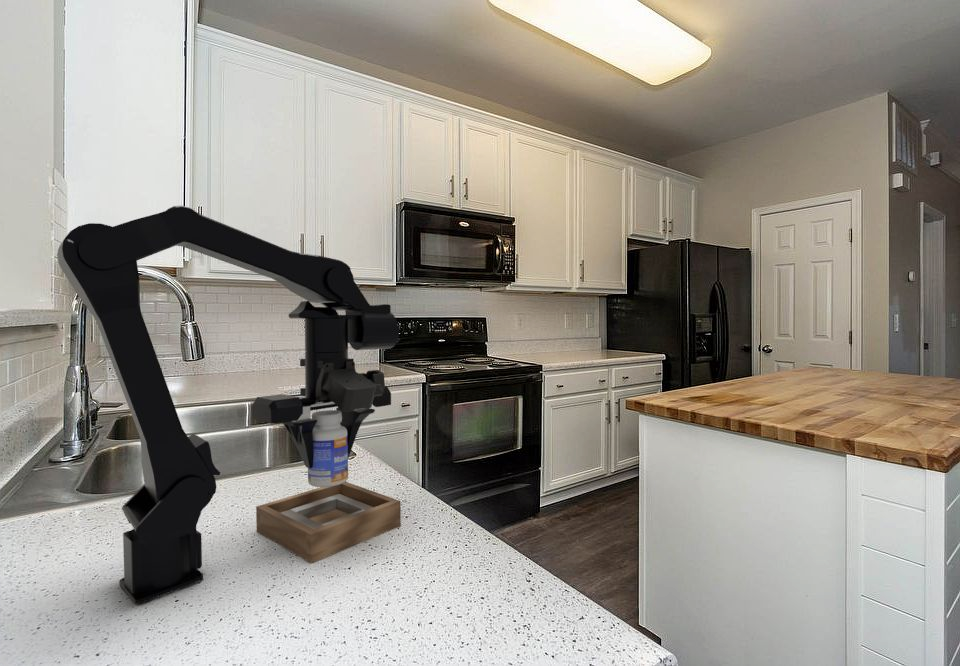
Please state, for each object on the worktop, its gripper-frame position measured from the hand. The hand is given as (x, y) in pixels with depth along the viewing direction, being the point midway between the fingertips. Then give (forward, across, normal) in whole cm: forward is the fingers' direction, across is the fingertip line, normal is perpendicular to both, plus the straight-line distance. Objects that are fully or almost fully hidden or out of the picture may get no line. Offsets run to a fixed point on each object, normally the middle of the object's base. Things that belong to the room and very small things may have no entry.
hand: (327, 463), depth 68 cm
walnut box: (+9, 0, 0) cm, 9 cm away
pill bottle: (+3, 0, 0) cm, 3 cm away
